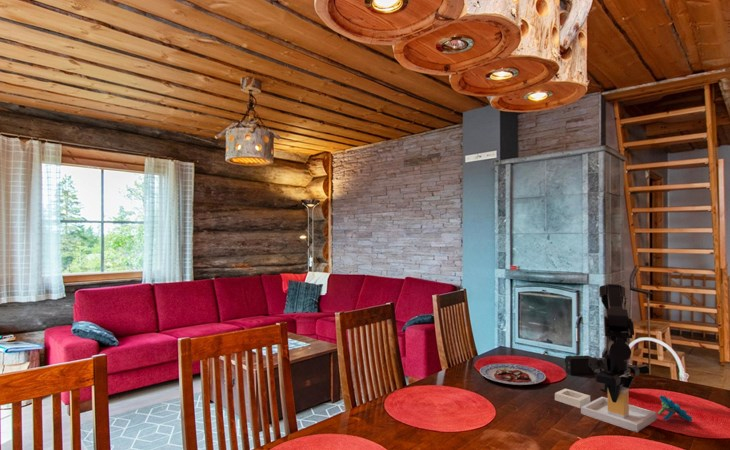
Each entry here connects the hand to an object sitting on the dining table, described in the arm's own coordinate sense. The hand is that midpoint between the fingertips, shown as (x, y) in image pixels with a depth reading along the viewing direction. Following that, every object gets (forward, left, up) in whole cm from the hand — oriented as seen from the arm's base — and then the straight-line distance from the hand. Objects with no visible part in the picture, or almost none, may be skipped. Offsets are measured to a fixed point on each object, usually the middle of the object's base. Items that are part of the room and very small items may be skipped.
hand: (618, 400), depth 144 cm
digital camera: (-33, -30, -6) cm, 45 cm away
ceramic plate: (-5, -43, -6) cm, 44 cm away
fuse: (0, 0, -5) cm, 5 cm away
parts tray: (0, 0, -5) cm, 5 cm away
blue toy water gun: (-12, +12, -6) cm, 18 cm away
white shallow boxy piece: (0, -15, -5) cm, 16 cm away
